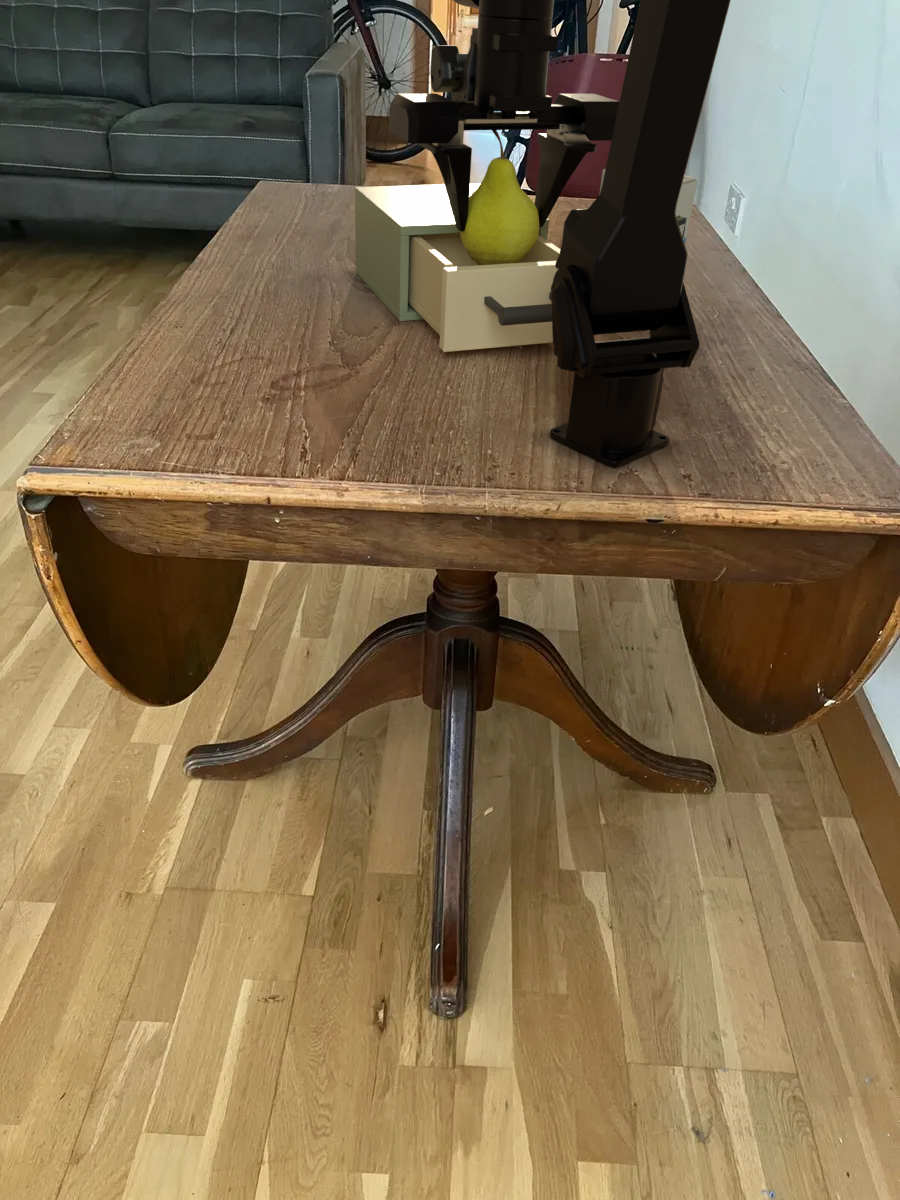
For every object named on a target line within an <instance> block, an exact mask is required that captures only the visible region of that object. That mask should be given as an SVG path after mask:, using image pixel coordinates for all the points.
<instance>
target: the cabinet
mask: <svg viewBox="0 0 900 1200" xmlns="http://www.w3.org/2000/svg"><path fill="white" fill-rule="evenodd" d="M480 184H481V182H473V183H472V182H470V189H469V197H470V196H471V195H472V194H473V193H474V192H475V190H476V189H477V188H478V187H479V186H480ZM354 217H355V218H354V229H355V230H354V235H355V236H354V237H355V238H354V239H355V274H356V275H357V276H358V277H359V278H360V279H361V281H363V282H364V284H365V285H366V286H367V287H368V288H369V289H370V290H371V291H372V293H374V294H375V296H376V297H377V298H378V299H379V300H380V301H381V302H382V304H383V305H384V306H385V307H386V308H387V310H389V311H390V313H391V314H392V315H393V316H394V317H395V318H396V319H397V320H398V322H409V321H421V320H425V319H424V318H423V317H422V316H421V315H420V314H419V313H418V312H417V311H416V310H415V309H414V308H413V307H412V306H411V305H410V304H409V303H408V268H409V235H426V234H447V233H460V231H459V230H458V229H457V227H456V224H455V220H454V217H453V213H452V209H451V206H450V202H449V198H448V195H447V191H446V187H445V184H444V183H440V184H439V183H437V184H410V185H409V184H408V185H378V186H377V185H376V186H373V185H372V186H355V187H354ZM549 226H550V219H549V218H547V220H546V222H545V224H544V226H543V227H542V228H539V236H541V237H543V238H544V239H546V240H547V241H548V235H549V228H550V227H549Z"/></svg>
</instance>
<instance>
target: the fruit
mask: <svg viewBox="0 0 900 1200" xmlns="http://www.w3.org/2000/svg"><path fill="white" fill-rule="evenodd" d="M491 131H492V133H493V134H494V136H495V137H496V139H497V141H498V143H499V149H500V156H499V157H495V158H492V159H491V161H490V162H489V164H488V166H487V168H486V172H485V174H484V177H483V179H482V181H481V182H480V183H481V184H480V186H479V187H478V188H477V189H476V190H475V192H474V193H473V194H472V195H471V196H470V197H469V206H468V217H467V223H466V228H465V231H460V236H461V240H462V243H463V246H464V247H465V249H466V251H467V253H468V254H469V256H470V257H471V258H472V259H473V260H474V261H475V262H476V263H477V264H478V265H494V264H511V263H518V262H519V261H520V260H521V259H522V258H523V257H524V256H525V255H526V254H527V253H528V252H529V251H530V250H531V249H532V247H533V246H534V244H535V243H536V241H537V238H538V235H539V215H538V210H537V208H536V206H535V202H534V201H533V200H532V199H531V197H529V195H528V194H527V193H526V192H525V191H524V189H522V187H521V185H520V184H519V181H518V177H517V171H516V168H515V165H514V163H513V162H512V161H511V160H510V159H508V158H507V157H505V153H504V148H503V143H502V140H501V137H500V135H499V132H498V130H491Z"/></svg>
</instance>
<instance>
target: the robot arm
mask: <svg viewBox="0 0 900 1200" xmlns="http://www.w3.org/2000/svg"><path fill="white" fill-rule="evenodd" d="M452 1H453V2H454V3H456V4H457V5H459V6H463V7H467V8H471V9H477V10H478V17H477V27H472V28H471V35H470V42H469V49H468V52H467V53H460V50H459V48H458V46H457V45H440V44H439V45H438V44H437V45H435V46H434V47H433V48H432V49H431V55H430V56H431V57H430V71H429V72H430V74H429V75H430V86H431V90H432V92H433V93H396V94H395V96H394V98H393V99H392V100H391V102H390V104H389V109H388V132H389V133H391V134H394V135H395V136H396V137H398V138H400V139H401V140H403V141H405V142H407V143H410V144H417V145H419V146H420V147H422V148H424V149H425V150H427V151H429V152H431V154H432V156H433V158H434V160H435V162H436V164H437V167H438V169H439V172H440V174H441V177H442V180H443V184H445V187H446V191H447V195H448V198H449V202H450V206H451V209H452V213H453V217H454V220H455V224H456V227H457V229H458V230H459V231H465V228H466V223H467V217H468V206H469V189H470V183H471V170H472V154H473V148H472V147H471V146H469V145H467V144H465V143H464V137H465V135H464V134H465V131H492V130H496V131H525V130H526V131H528V130H529V131H531V130H532V131H533V130H534V131H536V130H537V131H539V130H540V131H541V130H546V132H537V141H538V148H539V155H540V156H539V157H540V160H539V167H538V175H537V183H536V189H535V190H536V191H535V198H534V204H535V206H536V208H537V210H538V215H539V228H542V227H543V226H544V224H545V222H546V220H547V219H549V216H550V214H551V212H552V211H553V209H554V207H555V205H556V203H557V202H558V199H559V197H560V196H561V194H562V192H563V190H564V189H565V187H566V185H567V183H568V182H569V180H570V179H571V177H572V176H573V175H574V172H575V171H576V170H577V168H578V167H579V165H580V164H581V162H582V161H583V159H584V158H585V157H586V155H587V154H588V153H595V152H596V151H597V144H596V143H593V142H594V141H598V142H599V141H600V142H602V141H604V142H605V141H610V146H609V151H608V155H607V160H606V166H605V169H606V170H605V174H604V179H603V184H602V188H601V192H600V191H599V193H600V195H599V194H598V196H597V197H596V199H595V200H593V202H592V204H590V206H589V207H588V208H577V209H576V208H575V209H574V208H573V209H571V210H570V211H569V213H568V215H567V217H566V218H565V220H564V223H563V229H562V239H561V246H560V249H561V250H560V254H559V257H558V259H557V262H556V264H555V267H556V269H558V270H557V272H556V273H555V276H554V279H553V283H552V286H551V307H552V332H553V342H552V344H553V354H554V356H555V357H556V358H557V363H556V366H557V367H558V368H559V369H560V370H563V371H569V372H574V373H573V380H572V385H571V395H570V401H569V402H570V403H569V410H568V418H567V423H563V424H561V425H558V426H556V427H552V428H551V429H549V437H550V438H551V439H553V440H555V441H556V442H559V443H561V444H563V445H565V446H567V447H570V448H572V449H574V450H575V451H577V452H580V453H582V454H584V455H586V456H589V457H590V458H592V459H594V460H597V461H599V462H600V463H602V464H605V465H607V466H609V467H612V468H617V467H618V468H619V467H621V466H624V465H626V464H627V463H631V462H633V461H635V460H637V459H639V458H641V457H644V456H647V455H648V454H650V453H653V452H655V451H657V450H659V449H662V448H664V447H666V446H668V445H669V442H670V437H669V436H667V435H665V434H664V433H660V432H659V431H656V430H654V428H655V426H656V422H657V416H658V409H659V404H660V400H661V394H662V390H663V385H664V384H663V383H664V371H665V369H673V368H682V369H685V368H690V367H691V365H692V363H693V361H694V359H695V356H696V355H697V352H698V350H699V348H700V339H699V335H698V332H697V328H696V324H695V320H694V317H693V312H692V309H691V305H690V301H689V298H688V295H687V294H688V293H687V290H686V286H685V283H684V279H685V272H686V268H687V262H688V250H687V248H686V243H685V244H684V240H683V237H682V234H681V230H680V227H679V224H678V221H677V217H676V213H675V212H676V206H677V202H678V198H679V194H680V190H681V187H682V183H683V179H684V175H686V172H687V167H688V164H689V160H690V156H691V153H692V148H693V144H694V141H695V137H696V134H697V131H698V130H697V129H698V127H699V122H700V119H701V115H702V110H703V106H704V104H705V100H706V99H705V98H706V95H707V92H708V87H709V84H710V79H711V77H712V74H713V73H712V72H713V69H714V65H715V61H716V58H717V54H718V49H719V46H720V44H721V38H722V35H723V32H724V27H725V24H726V20H727V15H728V12H729V8H730V4H731V0H640V2H639V5H638V11H637V15H636V20H635V25H634V29H633V35H632V39H631V45H630V48H629V55H628V57H627V63H626V68H625V74H624V78H623V83H622V87H621V92H620V97H619V100H616V99H613V98H609V97H606V96H604V95H600V94H598V93H558V94H557V97H556V99H555V101H554V102H553V96H552V95H548V94H546V92H547V83H548V70H549V61H550V60H549V59H550V52H557V51H558V39H559V36H558V35H555V34H552V28H553V17H554V15H553V14H554V4H555V0H452ZM438 93H450V95H451V99H450V98H448V97H445V96H443V95H441V94H438ZM552 102H553V103H552ZM647 331H649V336H645V337H634V338H625V339H624V338H623V339H613V340H602V341H596V339H595V336H601V335H610V334H611V335H612V334H621V333H622V334H623V333H633V332H647Z"/></svg>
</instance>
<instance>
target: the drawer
mask: <svg viewBox="0 0 900 1200" xmlns="http://www.w3.org/2000/svg"><path fill="white" fill-rule="evenodd" d="M560 250H561V247H560V248H559V247H558V246H557V245H555V244H553V243H552V242H550V241H549V240H548V239H547V240H546V239H544V238H543V237H541V236H539V235H538V238H537V241H536V243H535V244H534V246H533V247H532V249H531V250H530V251H529V252H528V253H527V254H526V255H525V256H524V257H523V258H522V259H521V260H520V261H519V262H518V263H511V264H494V265H478V264H477V263H476V262H475V261H474V260H473V259H472V258H471V257H470V256H469V254H468V253H467V251H466V249H465V247H464V246H463V243H462V240H461V236H460V233H447V234H426V235H409V268H408V303H409V304H410V305H411V306H412V307H413V308H414V309H415V310H416V311H417V312H418V313H419V314H420V315H421V316H422V317H423V318H424V319H423V320H424V321H425V322H426V323H427V324H428V325H430V327H431V328H432V329H433V330H434V331H435V332H436V334H438V335H439V344H438V345H439V346H438V347H439V349H440V350H441V351H442V352H443V353H448V352H459V351H472V350H483V349H494V348H505V347H506V348H507V347H516V346H517V347H518V346H528V345H539V344H540V345H541V344H553V332H552V307H551V286H552V283H553V279H554V276H555V273H556V272H557V270H558V269H556V267H555V264H556V262H557V259H558V257H559V254H560Z"/></svg>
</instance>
